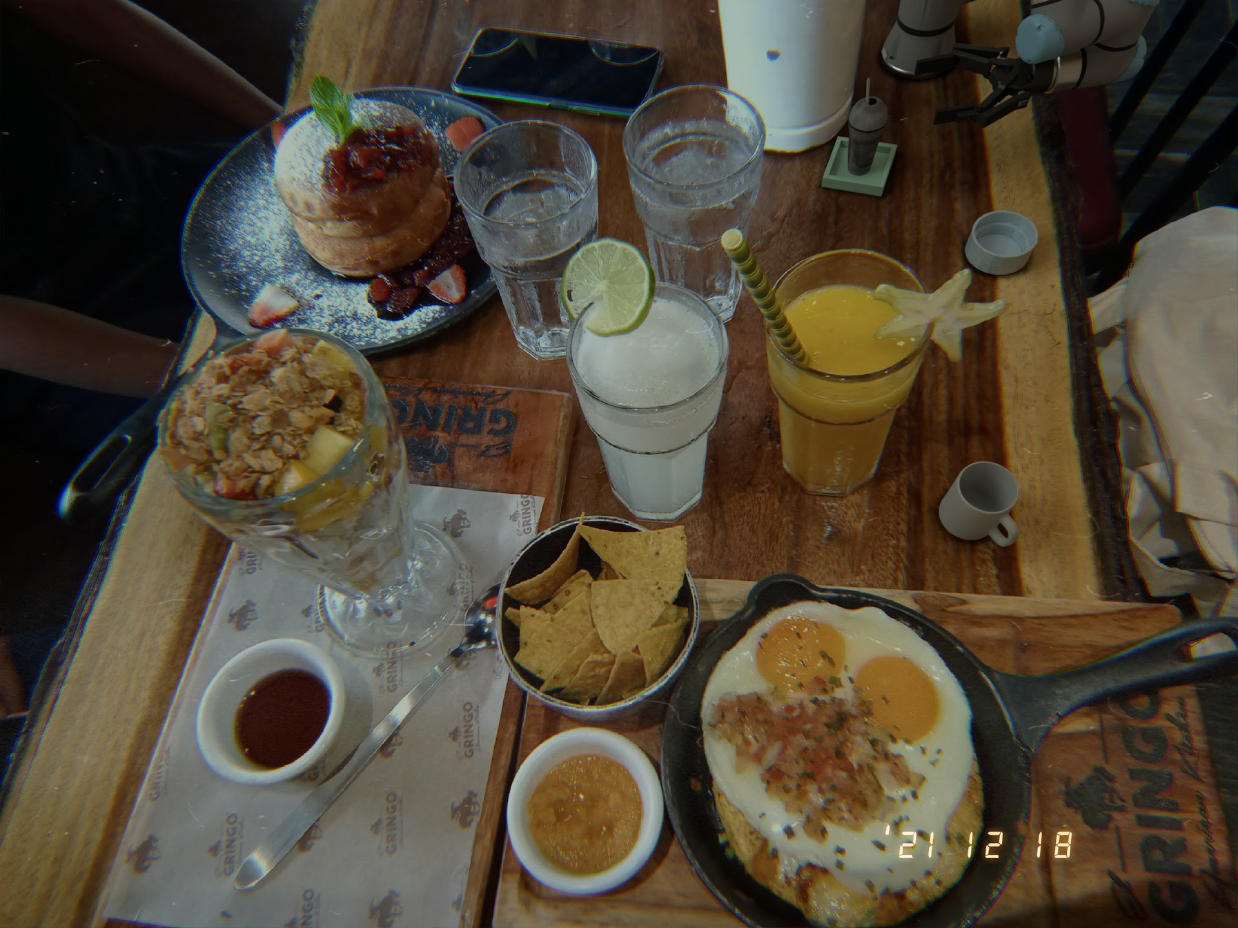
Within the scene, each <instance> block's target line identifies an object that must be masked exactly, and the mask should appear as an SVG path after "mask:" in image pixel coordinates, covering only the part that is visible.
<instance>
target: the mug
mask: <svg viewBox="0 0 1238 928" xmlns="http://www.w3.org/2000/svg"><path fill="white" fill-rule="evenodd" d="M1019 496H1020V487H1019V483H1018V481H1017V479H1016V477H1015V476H1014V474H1013V473H1012V472H1011V471H1010V470H1009V469H1007V468H1006V467H1005V466H1003V465H1001V464H999V463H996V462H993V461H975V462H973V463H971V464H968V465H967V466H965V467H964V468H963V469H962V470H961V471H960V472H959V473H958V476H957V477H956V478H955V480H954V482H953V483H952V485H950V487H949V489H948V491H947V492H946V493H945V495H944V496H943V497H942V500H941V501H940V504H939V506H938V516H939V517H938V518H939V520H940V522H941V524H942V526H943V527H944V529H946V531H947V532H948V533H950V534H951V535H952V536H954V537H956V538H958V539H962V540H966V541H977V540H981V539H984V538H985V537H988V536H989V537H990V538H991V539H992V540H993V542H994V543H996V545H998V546H999V547H1009V546H1011V545H1013V544H1014V543H1016V541H1017V540H1018V538H1019V537H1020V536H1019V535H1020V530H1019V527H1018V524H1017V523H1016V522H1015V520H1014V519H1013V518H1012V517H1011V516H1010V512H1011V511H1012V509H1013V508H1014V507H1015V506H1016V504H1017V502H1018V500H1019ZM1000 524H1001V525H1002V526H1003V527H1004V529H1005V530H1006V531H1007V534H1008V536H1007V537H1005V536H1004V534H1003V533H1002V532H1001V531H1000V530H999V528H998V526H999V525H1000Z"/></svg>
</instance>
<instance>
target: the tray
mask: <svg viewBox="0 0 1238 928" xmlns="http://www.w3.org/2000/svg"><path fill="white" fill-rule="evenodd" d="M848 144H849V137H845V136H837V138H836V140H835V143H834V146H833V149H832V152H831V154H830V157H829V160H828V162H827V165H826V167H825V169H824V172H823V175H822V180H821V187H822V188H826V189H827V188H828V189H834V190H840V191H846V192H851V193H859V194H864V195H865V194H866V195H870V196H877V197H882V196H883V193H884V190H885V187H886V184H887V182H888V178H889V175H890V171H891V168H892V165H893V162H894V160H895V157H896V154H897V153H896V152H897V149H898V144H893V143H888V142H887V143H886V142H880V141H879V144H878V147H877V150H876V153H875V156H874V159H873V163H872V165H871V168H870V171H869V172H868V173H867V174H865V175H861V176H857V175H853V174H851V173H850V172H849V171H848V168H847V167H848V161H847V160H848Z"/></svg>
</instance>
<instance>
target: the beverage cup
mask: <svg viewBox="0 0 1238 928" xmlns="http://www.w3.org/2000/svg"><path fill="white" fill-rule="evenodd" d="M870 85H871V78H870V77H868V78H867V79H866V93H865V94H866V95H865V97H863V98H861V99H859V100H858V101H857V102H856V103H855V104H854V105H853V107H852V108H851V110H850V113H849V114H848V117H847V122H848V138H849V144H848V160H847V161H848V167H847V168H848V171H849V172H850V173H851V174H853V175H857V176H861V175H865V174H867V173H868V172H869V171H870V168H871V165H872V163H873V159H874V156H875V153H876V150H877V147H878V144H879V142H880V140H881V137H882V134H883V133H884V130H885V129H886V126H887V125H888V121H889V117H888V116H889V114H888V113H889V112H888V108H887V105H886V103H885V102H884V101H883V100H882V99H881V98H880V97H877V96H873V95H870V90H871V89H870V88H871V87H870Z"/></svg>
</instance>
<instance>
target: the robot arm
mask: <svg viewBox="0 0 1238 928" xmlns="http://www.w3.org/2000/svg"><path fill="white" fill-rule="evenodd" d="M972 2H977V0H900V2H899V7H898V12H897V17H896V21H895V22H894V25H893V27H892V28H891V30H890V32H889V34H888V36H887V37H886V39H885V41H884V43H883V46H882V49H881V55H880V60H881V64H882V66H883V68H884V69H885V70H886V71H887V72H889V74H891V75H893V76H896V77H898V78H900V79H906V80H910V81H922V80H928V79H932V78H935V77H938V76H940V75H942V74H944V73H945V72H946V71H951V69H952V67H953V68H957V69H961V70H963V71H967V72H971V73H974V74H978V75H980V76H982V77H983V79H984V80H988V82H989V84H990V85H991V88H992V92H991V93H990V94H989V95H988V96H986V97H985V99H983V100H982V101H981V102H980V103H979V102H978V103H977V104H975V102H972V103H967V104H966V103H965V104H959V105H955V106H949V107H943V108H942V107H941V108H937V109H935V111H934V116H933V120H932V124H933V126H937V125H943V124H949V123H956V124H960V123H966V122H974V123H977V124H978V128H980V129H985V128H987V127H989V126H991V125H993V124H995V123H996V122H998V121H1000V120H1002V119H1003V118H1005V117H1006V116H1008V115H1010V114H1012V113H1014V112H1015V111H1019V110H1022V109H1026V108H1028V104H1029V103H1030V100H1031V97H1038V96H1042V95H1044V94H1053V93H1059V92H1065V91H1073V90H1077V89H1078V90H1079V89H1084V88H1091V87H1099V86H1107V85H1109V86H1110V85H1112V84H1114V83H1119V82H1122V81H1128V80H1130V79H1132V78H1134V77H1135V76H1136V75H1137V74H1138V73H1139V72H1140V71H1141V69H1142V68H1143V65H1144V63H1145V56H1146V55H1147V42H1146V38H1145V37H1144V36H1143V35H1142V33H1143V31H1144V30H1145V28H1146V26H1147V24H1148V22H1149V20H1150V18H1151V16H1152V15H1153V13H1154V11H1155V9H1156V7H1157V6H1158V5H1159V3H1160V0H1030V15H1028V16H1027V17H1025V18H1024V19H1023V20H1022V21H1021V22H1020V24H1019V25H1018V27H1017V29H1016V30H1017V31H1016V32H1017V34H1016V36H1015V42H1014V43H1015V49H1016V53H1017V55H1018V57H1017V58H1015V57H1014V58H1012V57H1010V55H1009V54H1010V50H1011V48H1010V46H996V47H995V46H986V45H978V44H969V43H963V42H957V41H956V30H955V27H956V26H955V23H956V19H957V15H958V12H959V8H960V7H962V6H964V5H967V4H970V3H972ZM993 66H994V67H993ZM1008 96H1011V97H1008ZM1006 97H1008V98H1007V99H1006ZM1004 99H1005V100H1004Z"/></svg>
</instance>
